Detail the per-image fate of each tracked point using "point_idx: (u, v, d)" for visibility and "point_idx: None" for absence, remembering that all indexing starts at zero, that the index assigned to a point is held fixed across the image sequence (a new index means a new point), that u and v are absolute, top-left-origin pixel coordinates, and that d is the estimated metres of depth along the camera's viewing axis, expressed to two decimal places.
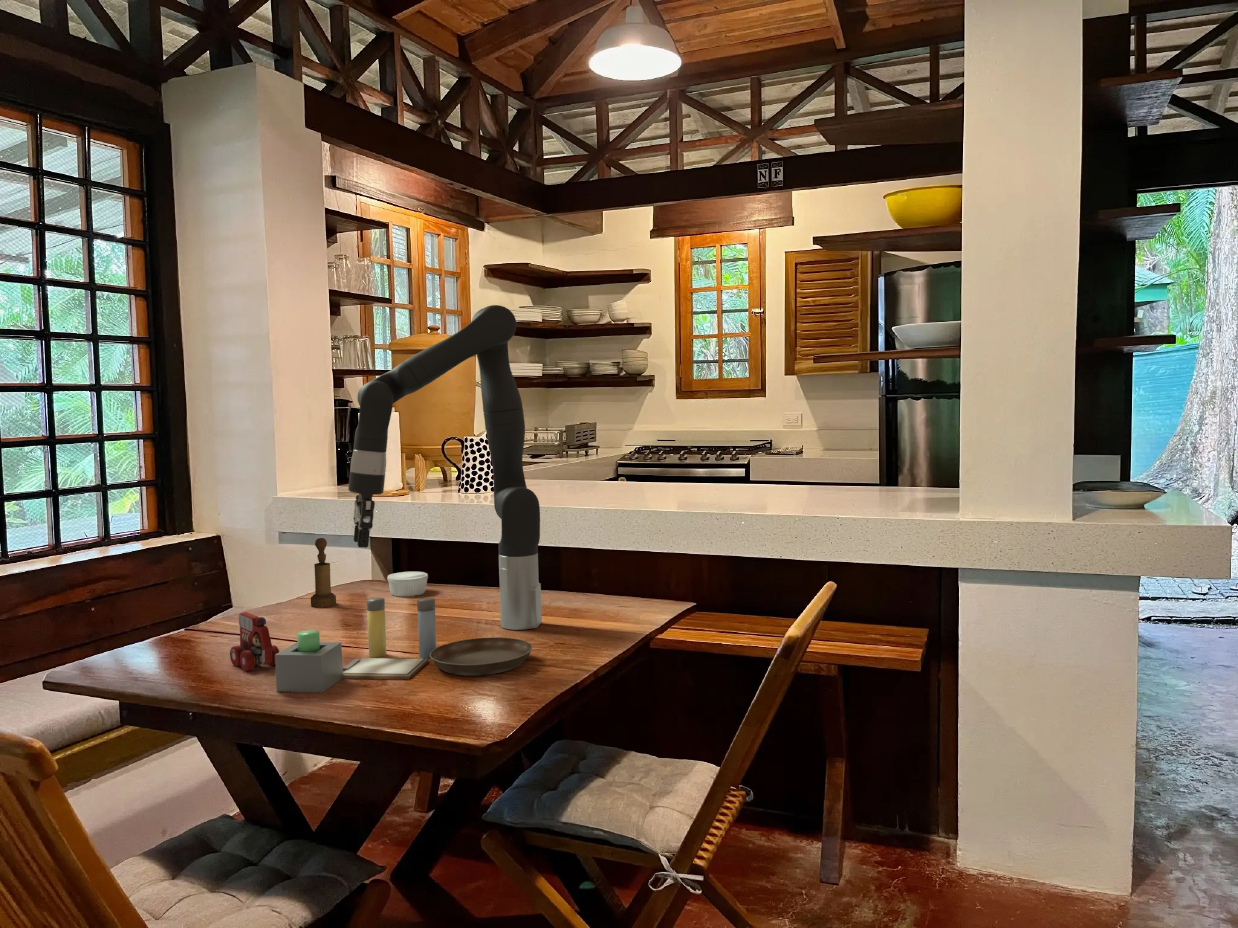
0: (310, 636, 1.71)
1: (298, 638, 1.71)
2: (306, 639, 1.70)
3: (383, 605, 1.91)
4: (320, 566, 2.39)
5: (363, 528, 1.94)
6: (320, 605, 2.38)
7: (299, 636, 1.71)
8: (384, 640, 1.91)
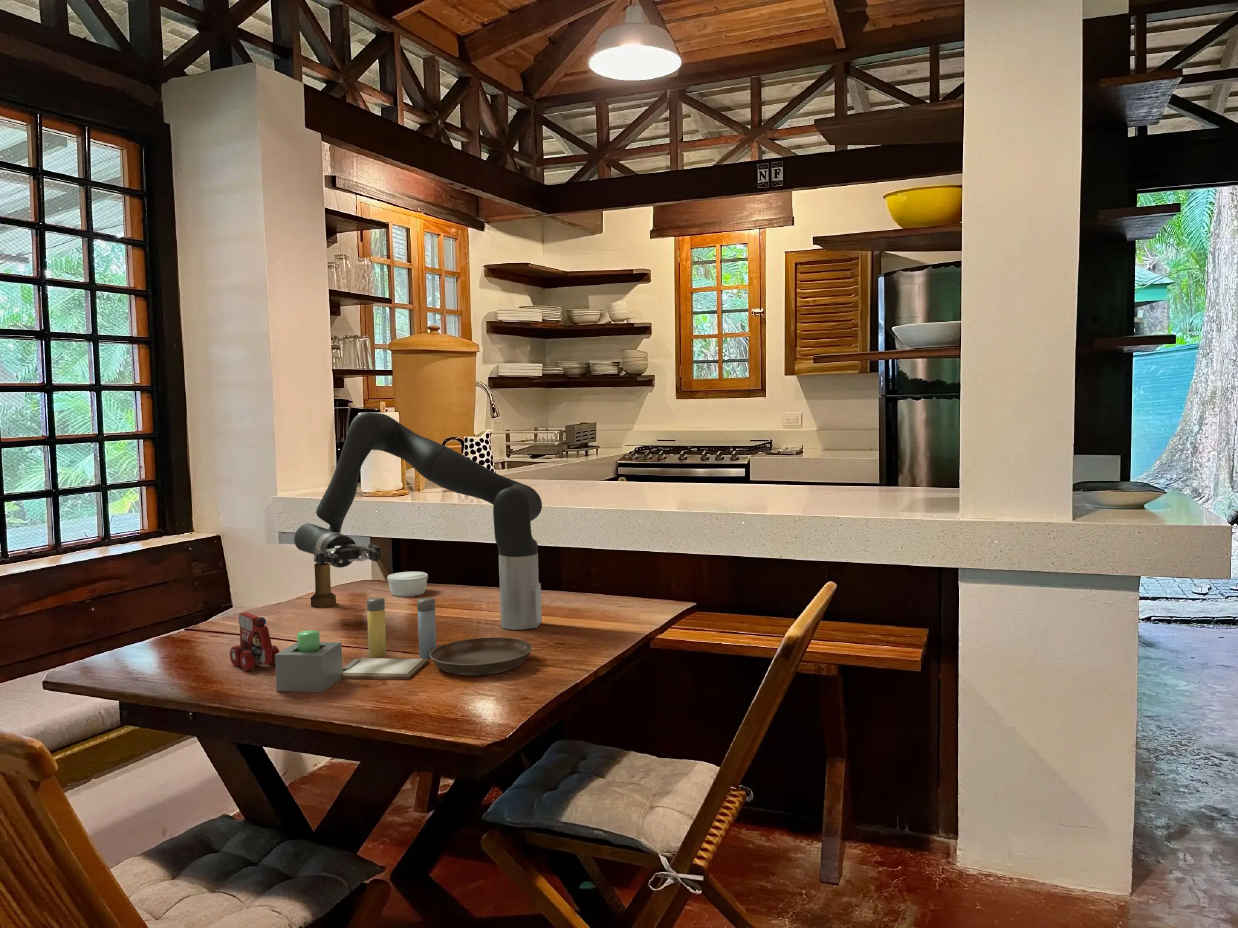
0: (310, 636, 1.71)
1: (298, 638, 1.71)
2: (306, 639, 1.70)
3: (383, 605, 1.91)
4: (320, 566, 2.39)
5: (323, 561, 2.00)
6: (320, 605, 2.38)
7: (299, 636, 1.71)
8: (384, 640, 1.91)
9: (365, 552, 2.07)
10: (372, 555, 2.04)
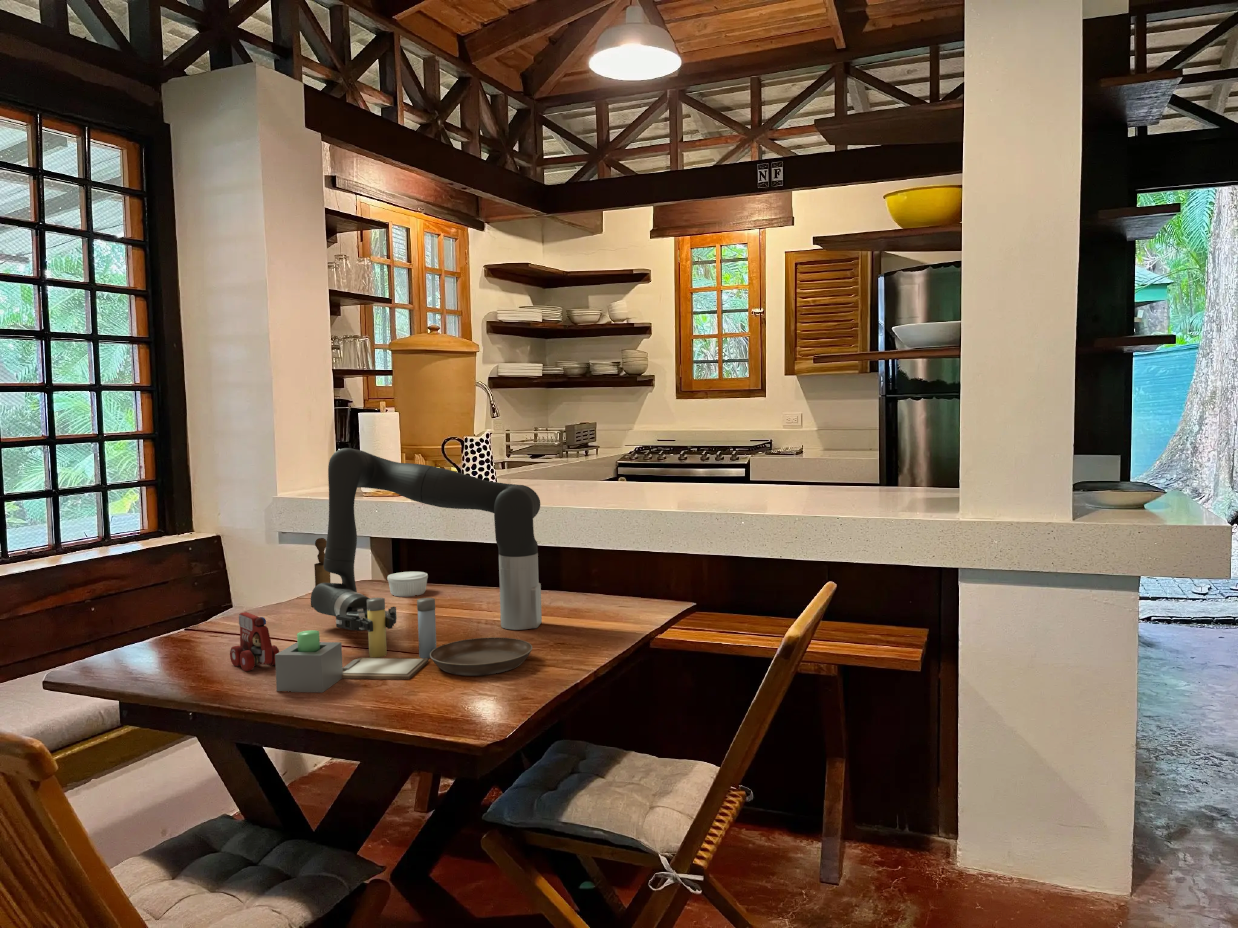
0: (310, 636, 1.71)
1: (298, 638, 1.71)
2: (306, 639, 1.70)
3: (383, 605, 1.91)
4: (320, 566, 2.39)
5: (355, 626, 1.91)
6: None
7: (299, 636, 1.71)
8: (385, 640, 1.91)
9: None
10: (386, 621, 1.92)
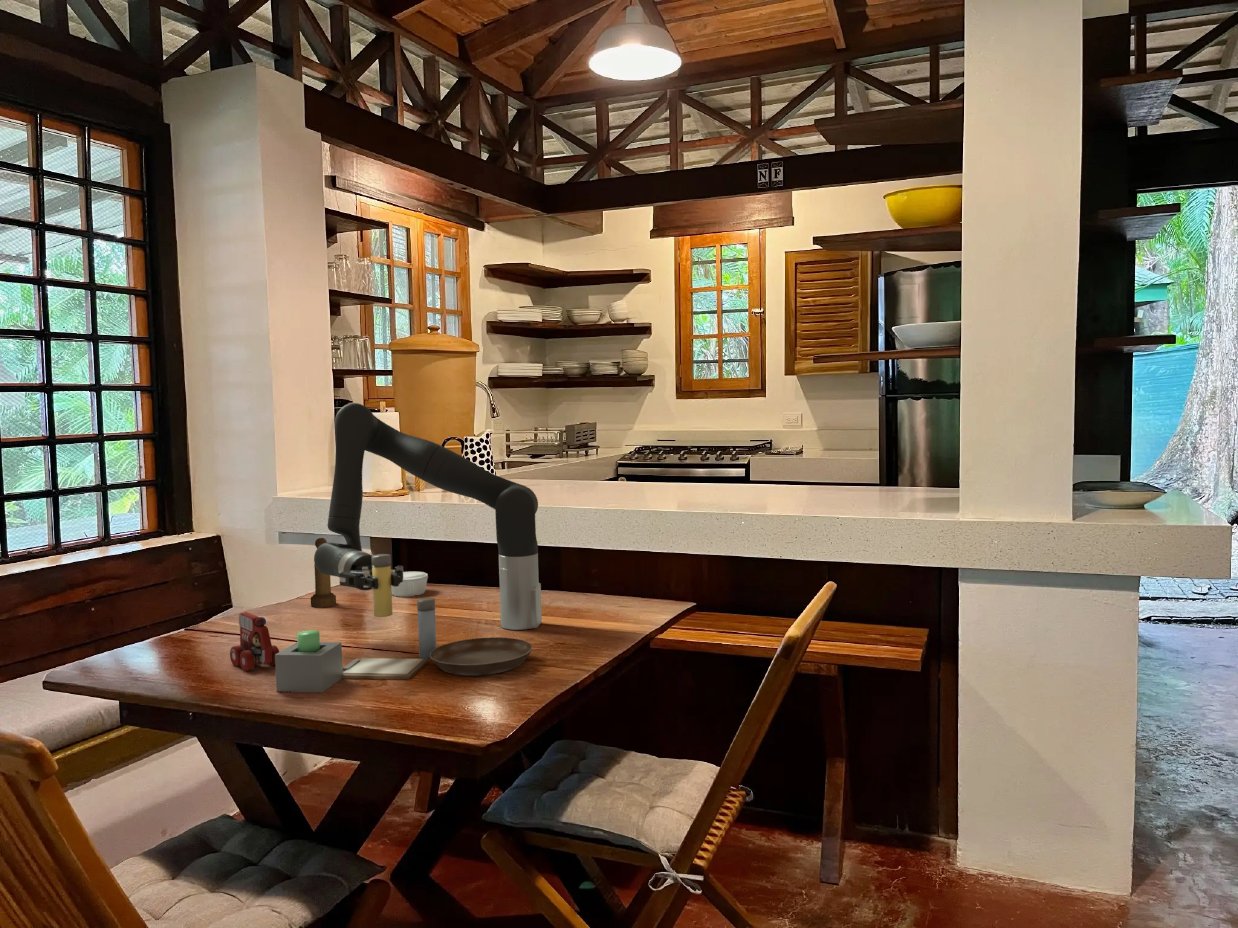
0: (310, 636, 1.71)
1: (298, 638, 1.71)
2: (306, 639, 1.70)
3: (389, 561, 1.80)
4: None
5: (360, 583, 1.80)
6: (320, 605, 2.38)
7: (299, 636, 1.71)
8: (390, 599, 1.81)
9: None
10: (392, 579, 1.81)
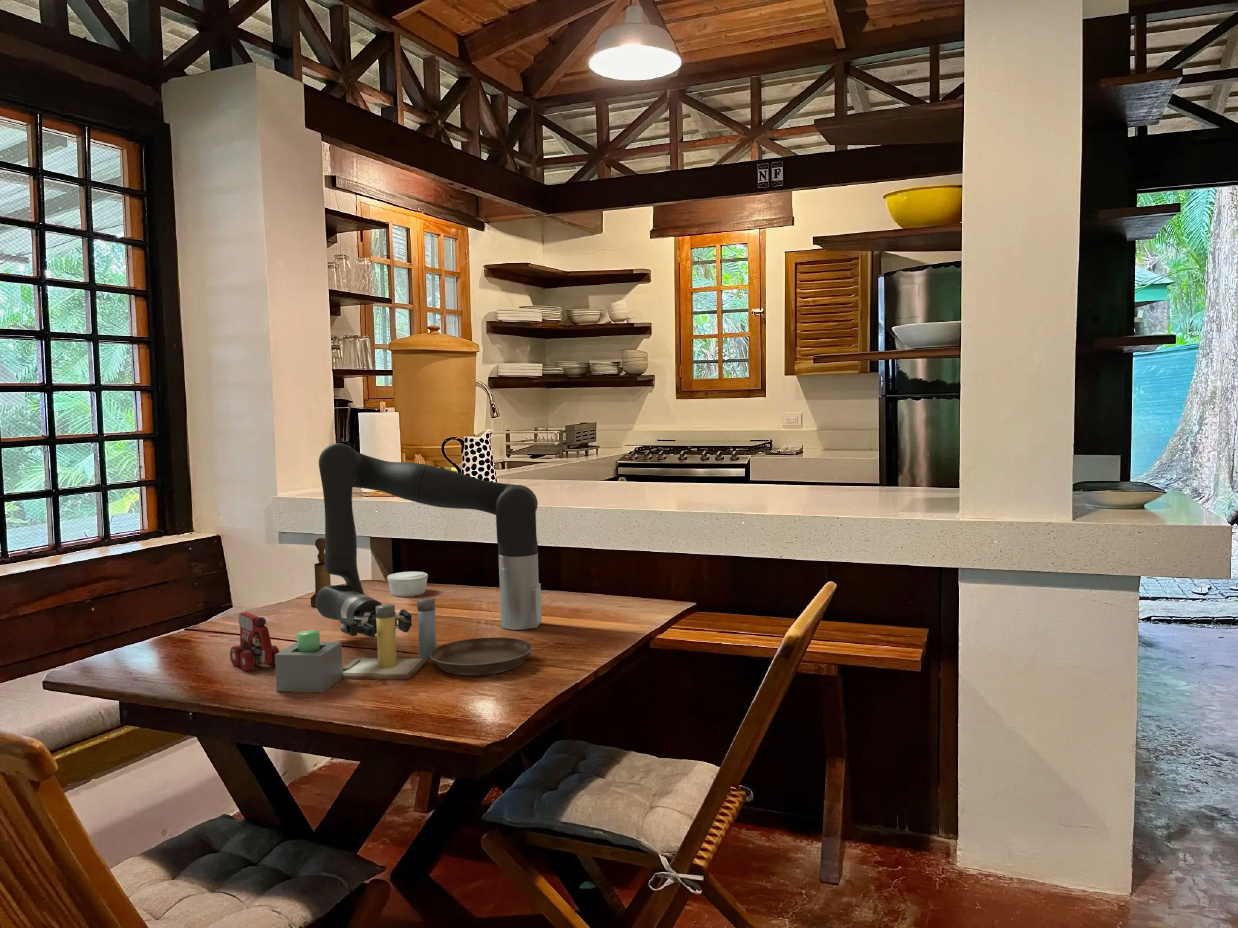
0: (310, 636, 1.71)
1: (298, 638, 1.71)
2: (306, 639, 1.70)
3: (393, 612, 1.81)
4: (320, 566, 2.39)
5: (356, 631, 1.80)
6: None
7: (299, 636, 1.71)
8: (394, 649, 1.81)
9: (395, 620, 1.86)
10: (402, 624, 1.82)
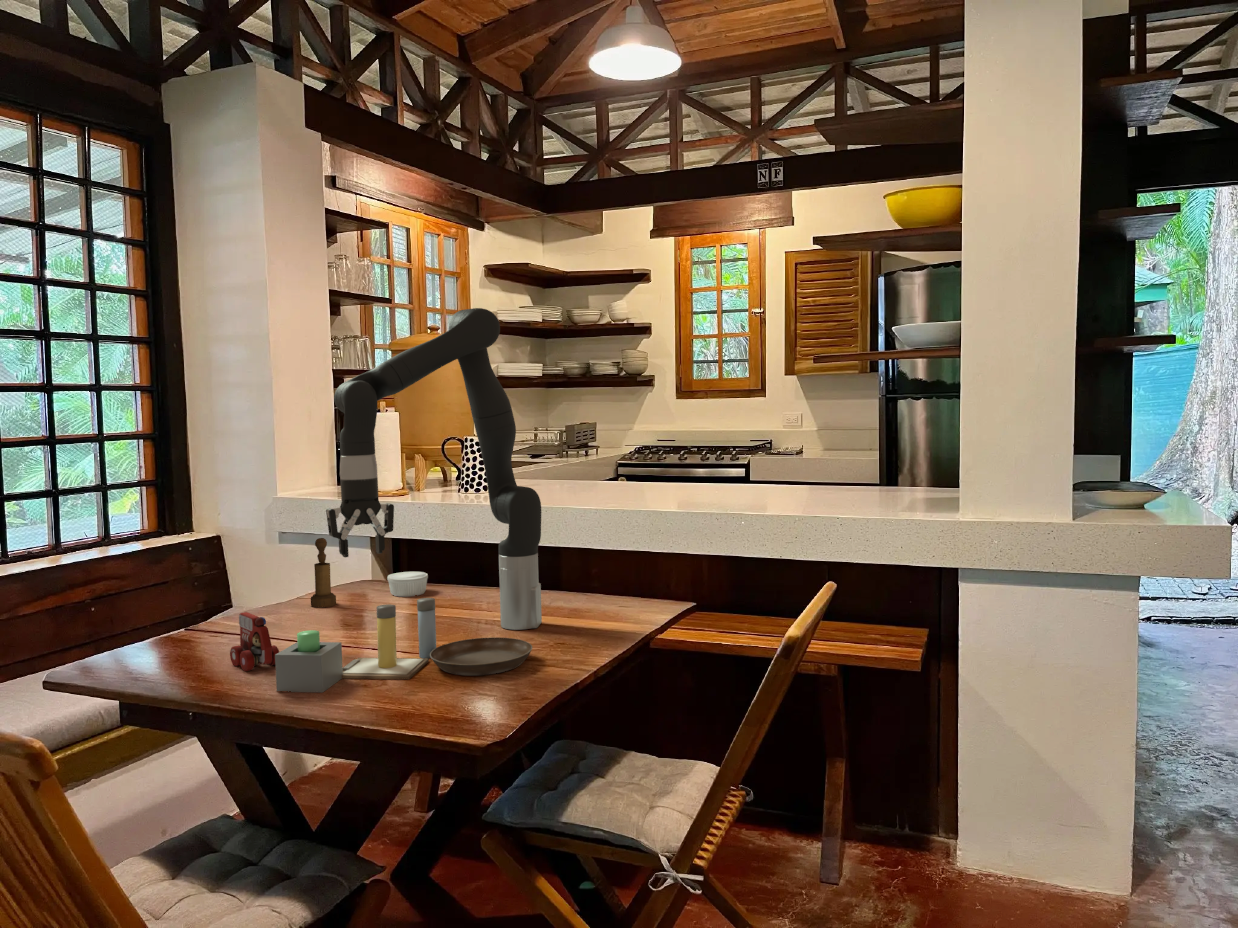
0: (310, 636, 1.71)
1: (298, 638, 1.71)
2: (306, 639, 1.70)
3: (394, 612, 1.80)
4: (320, 566, 2.39)
5: None
6: (320, 605, 2.38)
7: (299, 636, 1.71)
8: (395, 650, 1.81)
9: None
10: (377, 545, 1.93)
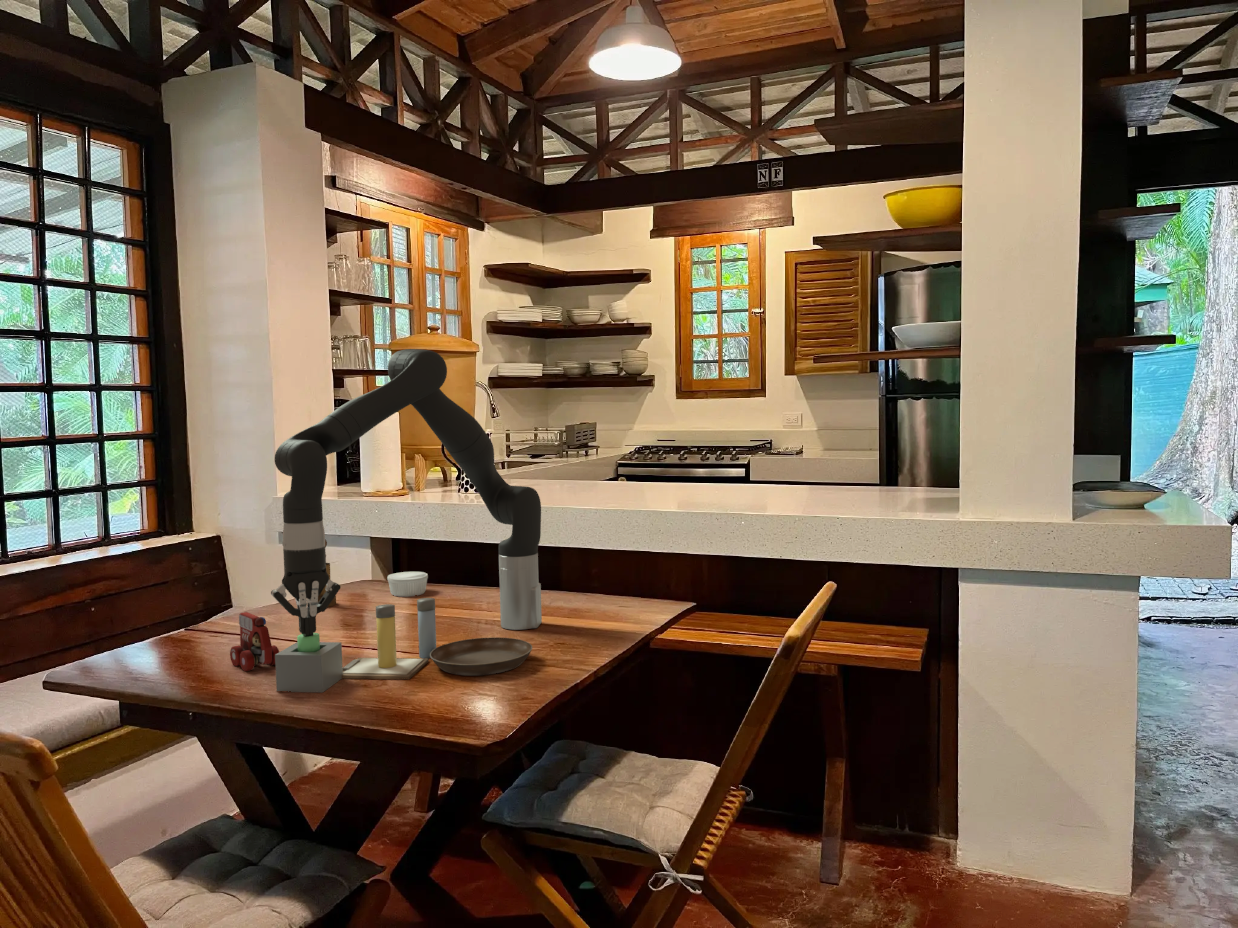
0: (310, 638, 1.71)
1: (298, 641, 1.71)
2: (306, 641, 1.70)
3: (393, 612, 1.80)
4: None
5: None
6: None
7: (299, 639, 1.71)
8: (394, 649, 1.81)
9: None
10: None
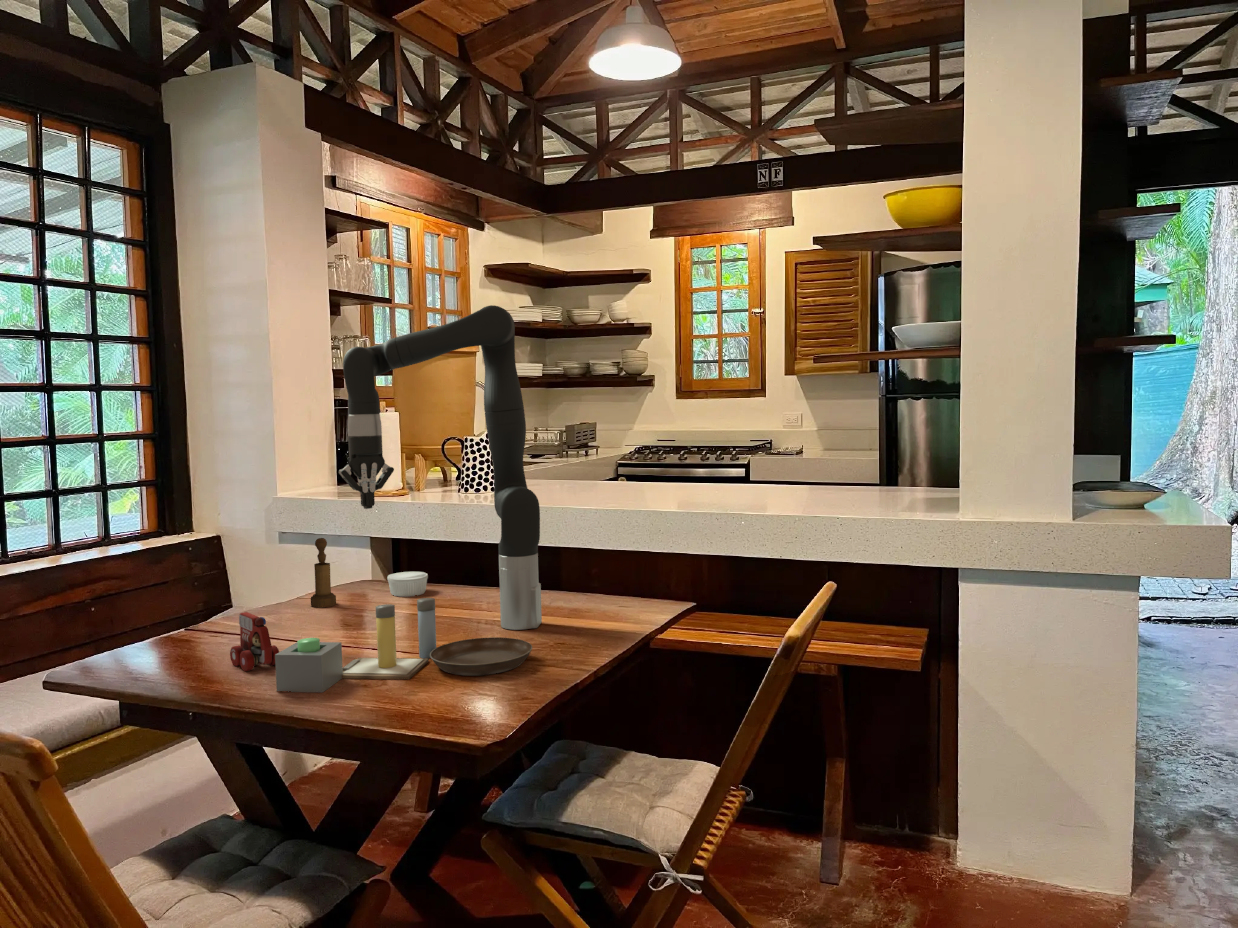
0: (310, 643, 1.71)
1: (298, 646, 1.71)
2: (306, 646, 1.70)
3: (393, 612, 1.80)
4: (320, 566, 2.39)
5: (356, 490, 2.10)
6: (320, 605, 2.38)
7: (299, 644, 1.71)
8: (394, 650, 1.81)
9: None
10: None
